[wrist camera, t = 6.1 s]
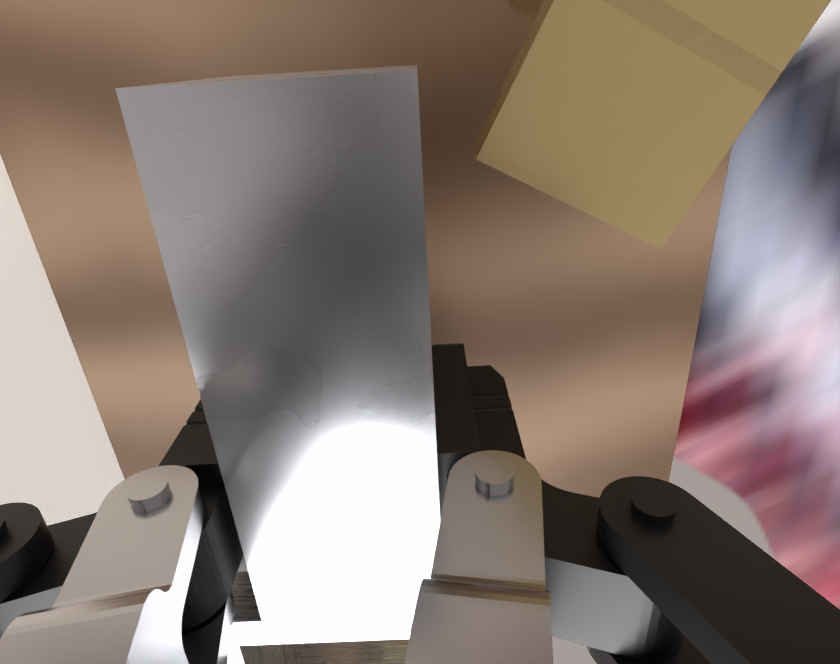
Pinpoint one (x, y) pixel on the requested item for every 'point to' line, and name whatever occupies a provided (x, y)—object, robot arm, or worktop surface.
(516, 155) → the block
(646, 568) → the robot arm
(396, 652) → the link
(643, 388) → the board
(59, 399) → the worktop surface
